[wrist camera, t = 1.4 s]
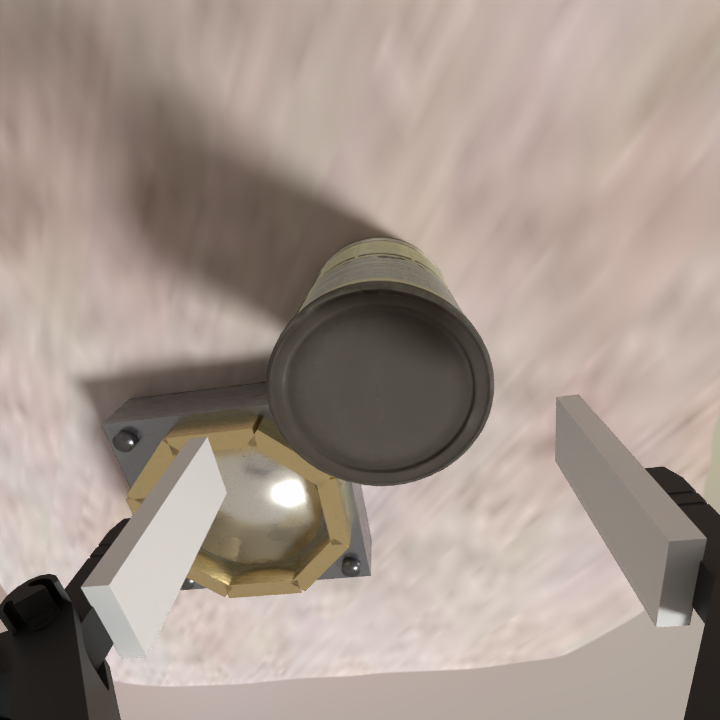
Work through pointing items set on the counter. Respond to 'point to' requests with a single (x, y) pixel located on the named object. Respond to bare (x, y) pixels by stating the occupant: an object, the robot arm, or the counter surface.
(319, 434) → the coffee can
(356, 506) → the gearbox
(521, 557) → the counter surface
